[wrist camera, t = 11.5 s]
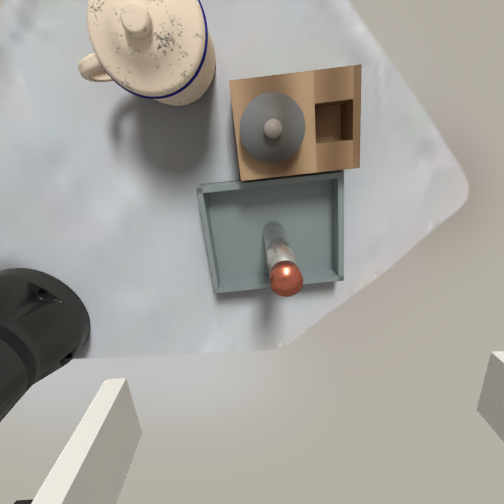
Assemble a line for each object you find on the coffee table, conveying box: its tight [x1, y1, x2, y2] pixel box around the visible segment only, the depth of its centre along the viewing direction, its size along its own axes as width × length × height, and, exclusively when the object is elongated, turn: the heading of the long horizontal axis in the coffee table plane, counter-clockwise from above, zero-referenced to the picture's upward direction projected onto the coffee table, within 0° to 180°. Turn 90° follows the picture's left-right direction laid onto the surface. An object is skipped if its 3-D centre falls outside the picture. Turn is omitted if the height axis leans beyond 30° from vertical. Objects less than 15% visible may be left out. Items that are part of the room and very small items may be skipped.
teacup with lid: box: [78, 0, 216, 106], centre depth 26 cm, size 12×9×12 cm
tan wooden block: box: [229, 65, 361, 181], centre depth 30 cm, size 12×9×7 cm
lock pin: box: [263, 221, 303, 297], centre depth 30 cm, size 3×3×14 cm
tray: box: [196, 170, 344, 293], centre depth 36 cm, size 16×13×3 cm
